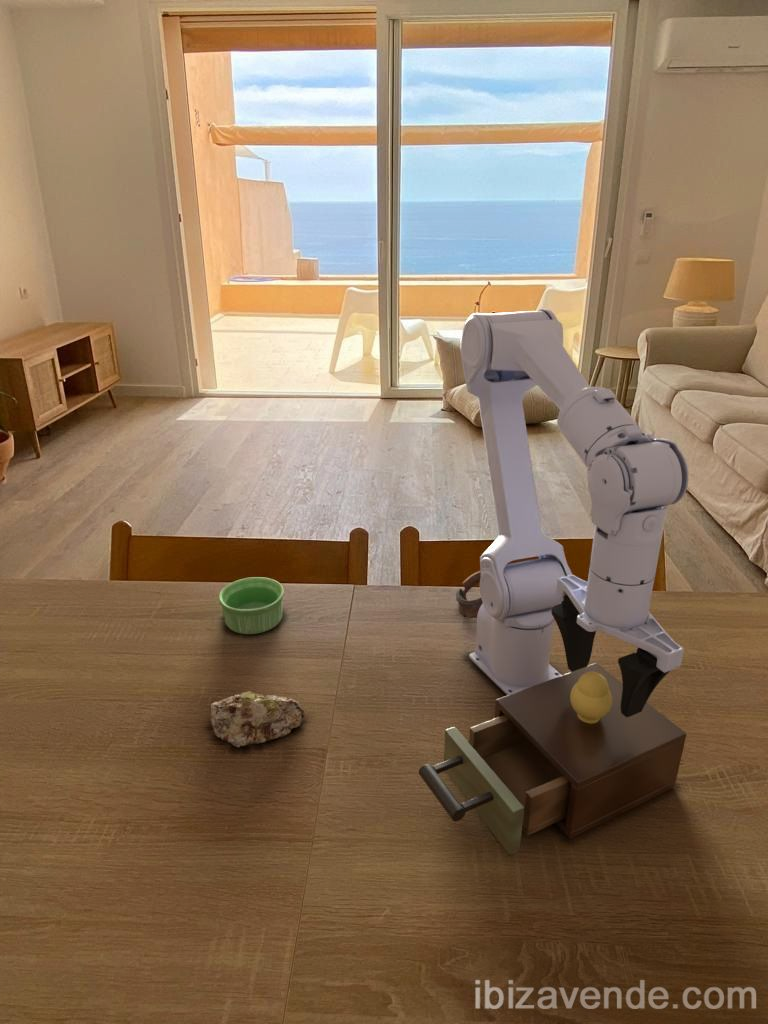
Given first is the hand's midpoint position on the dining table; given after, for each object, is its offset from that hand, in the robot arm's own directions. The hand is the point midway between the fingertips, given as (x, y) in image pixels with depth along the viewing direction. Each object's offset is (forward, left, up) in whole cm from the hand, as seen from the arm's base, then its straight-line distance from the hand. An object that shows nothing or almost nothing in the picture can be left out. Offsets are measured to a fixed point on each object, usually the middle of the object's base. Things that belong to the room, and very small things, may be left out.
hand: (603, 688), depth 69 cm
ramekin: (-43, -24, -10) cm, 50 cm away
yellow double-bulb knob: (0, -2, -3) cm, 3 cm away
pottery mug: (-28, +7, -10) cm, 31 cm away
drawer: (0, -11, -9) cm, 14 cm away
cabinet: (0, -2, -10) cm, 10 cm away
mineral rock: (-22, -30, -10) cm, 38 cm away
